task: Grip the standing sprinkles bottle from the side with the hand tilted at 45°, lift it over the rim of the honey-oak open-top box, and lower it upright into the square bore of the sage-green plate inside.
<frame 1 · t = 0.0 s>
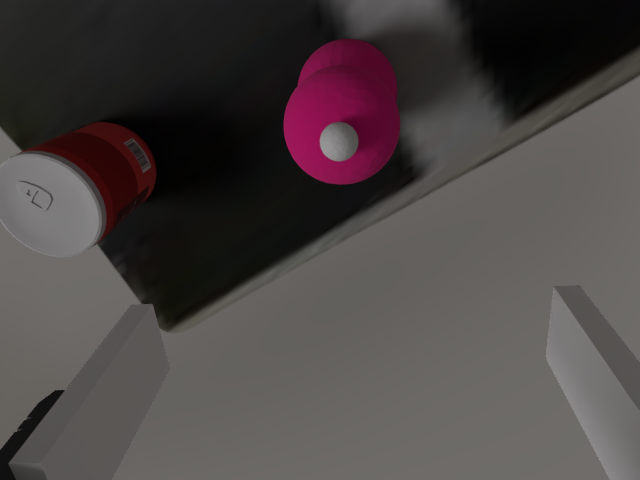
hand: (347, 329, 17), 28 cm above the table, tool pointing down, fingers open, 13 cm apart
canned food: (117, 162, 45), on the table
pepper mill: (348, 83, 41), on the table
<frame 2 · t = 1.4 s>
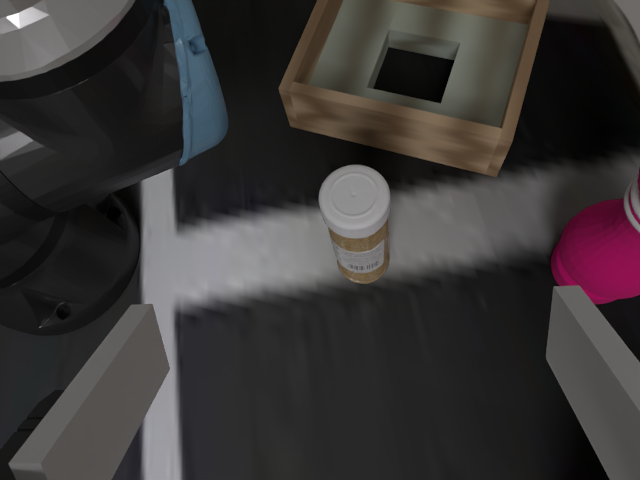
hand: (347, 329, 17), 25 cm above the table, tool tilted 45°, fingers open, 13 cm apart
bore box: (412, 81, 50), on the table
sprinkles bottle: (362, 260, 44), on the table
pepper mill: (589, 268, 42), on the table
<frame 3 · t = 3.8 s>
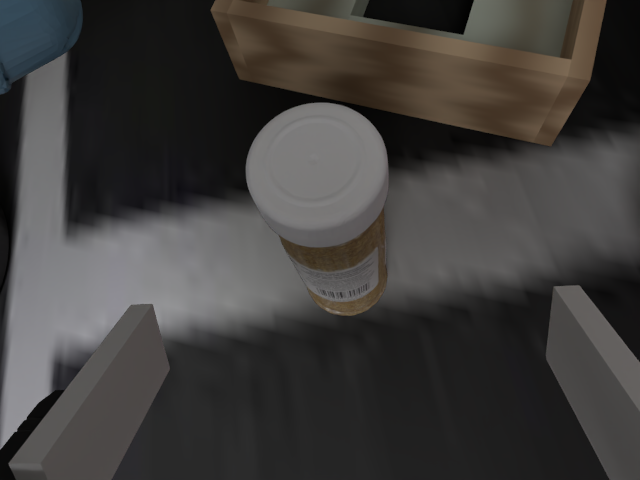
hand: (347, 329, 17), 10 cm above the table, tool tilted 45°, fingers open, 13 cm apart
bore box: (418, 11, 34), on the table
sprinkles bottle: (345, 278, 28), on the table
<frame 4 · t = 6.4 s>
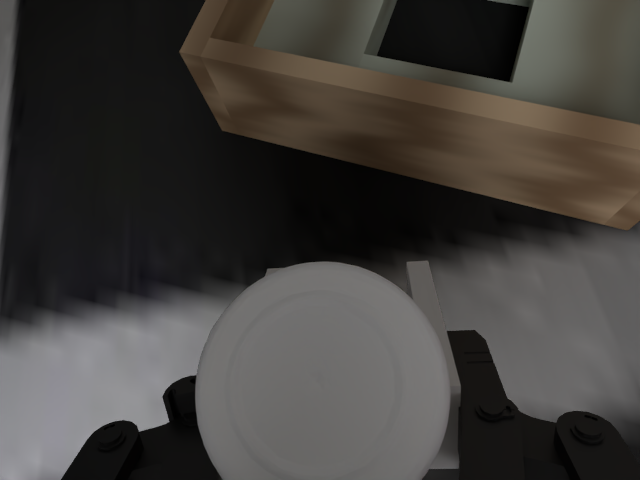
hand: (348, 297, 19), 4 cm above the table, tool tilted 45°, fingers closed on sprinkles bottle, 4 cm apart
bore box: (448, 46, 27), on the table
sprinkles bottle: (358, 409, 21), on the table, touching gripper
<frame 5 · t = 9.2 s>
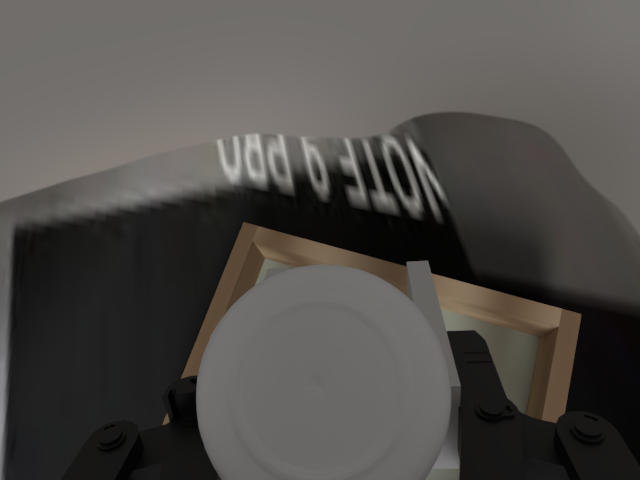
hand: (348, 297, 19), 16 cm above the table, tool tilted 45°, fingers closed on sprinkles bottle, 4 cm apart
bore box: (364, 406, 33), on the table
sprinkles bottle: (358, 411, 21), point 12 cm above the table, touching gripper
when the fingers open (5 cm above the table, at t = 12.1 s): sprinkles bottle drops 1 cm, resting in bore box.
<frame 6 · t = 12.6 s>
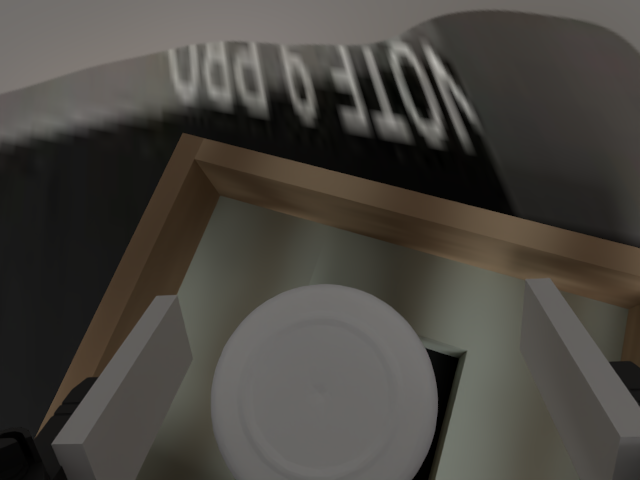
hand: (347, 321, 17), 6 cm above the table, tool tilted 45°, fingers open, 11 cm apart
bore box: (359, 410, 22), on the table
sprinkles bottle: (356, 412, 22), resting in bore box
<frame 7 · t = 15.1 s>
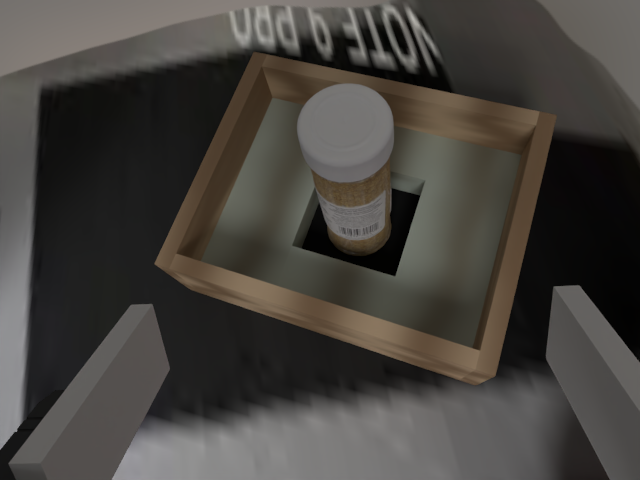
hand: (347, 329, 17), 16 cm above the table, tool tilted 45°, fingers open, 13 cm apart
bore box: (360, 226, 36), on the table
sprinkles bottle: (358, 229, 36), resting in bore box
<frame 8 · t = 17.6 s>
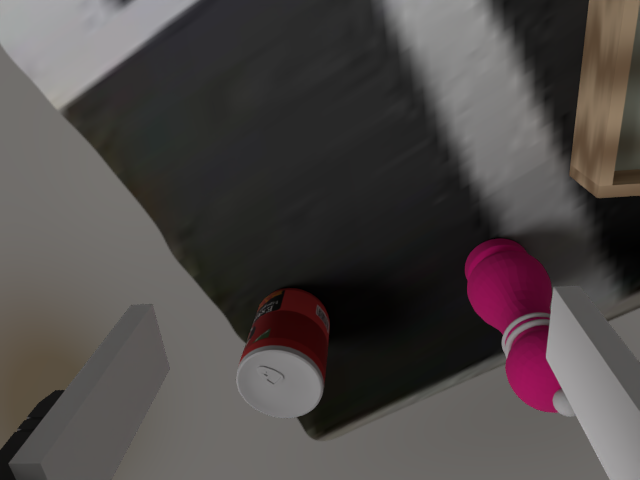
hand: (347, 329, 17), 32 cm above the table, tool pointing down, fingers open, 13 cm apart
canned food: (294, 315, 55), on the table
pepper mill: (496, 265, 50), on the table
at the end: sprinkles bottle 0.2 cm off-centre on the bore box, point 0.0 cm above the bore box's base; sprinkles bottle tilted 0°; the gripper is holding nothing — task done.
